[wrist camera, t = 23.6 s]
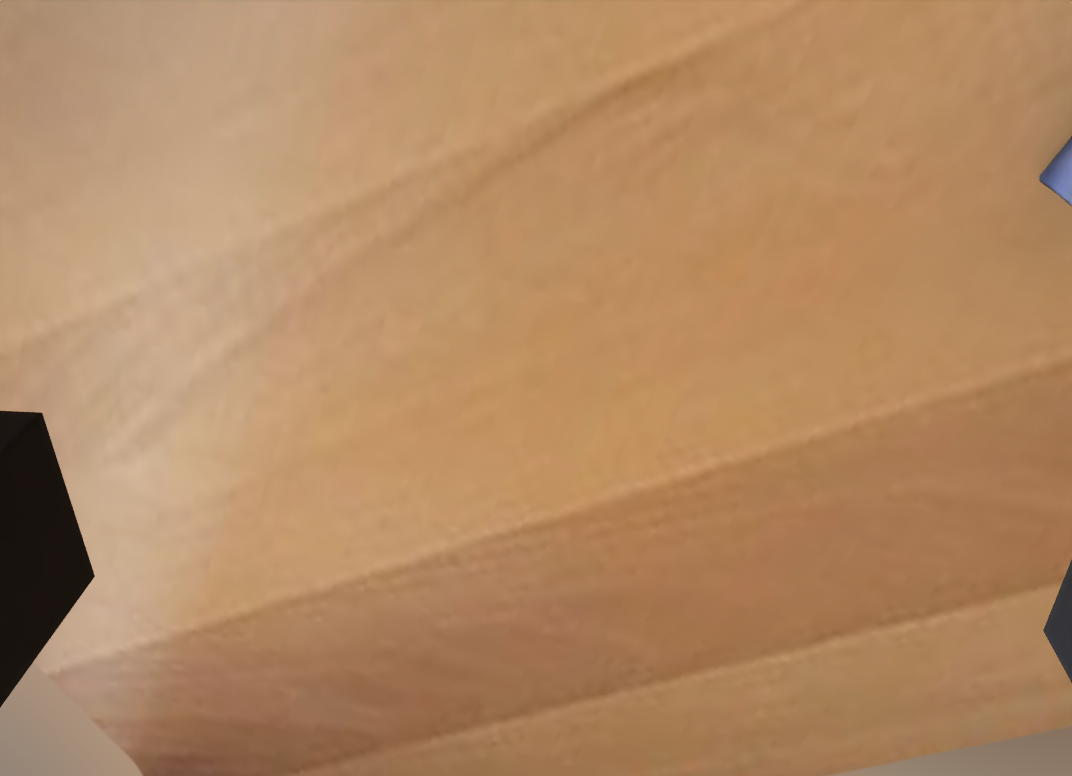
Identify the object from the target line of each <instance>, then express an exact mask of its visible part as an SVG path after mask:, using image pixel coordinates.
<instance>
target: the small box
mask: <svg viewBox="0 0 1072 776" xmlns="http://www.w3.org/2000/svg"><path fill="white" fill-rule="evenodd" d="M1039 180H1040V182H1041V183H1043V184H1044V185H1045V186H1047V187H1048V188H1050V189H1051V190H1053V191H1054V192H1055V193H1056V194H1057V195H1059V196H1060V197H1061V198H1062V199H1064V200H1065V201H1066V202H1067V203H1068V204H1070V205H1071V206H1072V137H1071V138H1070V139H1069V141H1068V142H1067V143H1066V144H1065V146H1064V147H1063V148H1062V150H1061V151H1060V152H1059V153H1058V154H1057V155H1056V157H1055V158H1054V159H1053V160H1052V162H1051V163H1050V164H1049V166H1048V167H1047V168H1046V169H1045V170H1044V172H1043V173H1042V174H1041V175H1040V177H1039Z"/></svg>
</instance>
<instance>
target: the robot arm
mask: <svg viewBox="0 0 1072 776" xmlns="http://www.w3.org/2000/svg"><path fill="white" fill-rule="evenodd" d="M94 577H95V575H94V572H93V569H92V566H91V563H90V560H89V557H88V554H87V551H86V548H85V545H84V541H83V538H82V535H81V532H80V529H79V526H78V523H77V520H76V517H75V514H74V510H73V507H72V504H71V501H70V498H69V495H68V492H67V489H66V486H65V483H64V479H63V476H62V473H61V470H60V467H59V464H58V461H57V458H56V455H55V452H54V449H53V445H52V442H51V439H50V436H49V433H48V430H47V427H46V424H45V421H44V418H43V414H42V413H35V412H13V411H0V707H1V706H2V704H3V703H4V701H5V700H6V699H7V697H8V696H9V695H10V693H11V692H12V690H13V689H14V688H15V686H16V685H17V683H18V682H19V681H20V679H21V678H22V677H23V675H24V674H25V672H26V671H27V669H28V668H29V667H30V665H31V664H32V663H33V661H34V660H35V658H36V657H37V656H38V654H39V653H40V652H41V650H42V649H43V647H44V646H45V645H46V643H47V642H48V640H49V639H50V638H51V636H52V635H53V633H54V632H55V631H56V629H57V628H58V627H59V625H60V624H61V622H62V621H63V620H64V618H65V617H66V615H67V614H68V613H69V611H70V610H71V608H72V607H73V606H74V604H75V603H76V602H77V600H78V599H79V597H80V596H81V595H82V593H83V592H84V590H85V589H86V588H87V586H88V585H89V584H90V582H91V581H92V579H93V578H94ZM1043 631H1044V633H1045V635H1046V636H1047V638H1048V640H1049V642H1050V644H1051V646H1052V647H1053V649H1054V651H1055V653H1056V655H1057V656H1058V658H1059V660H1060V662H1061V664H1062V666H1063V667H1064V669H1065V671H1066V673H1067V675H1068V677H1069V678H1070V680H1071V682H1072V560H1071V563H1070V565H1069V568H1068V570H1067V573H1066V575H1065V578H1064V580H1063V583H1062V585H1061V588H1060V590H1059V593H1058V595H1057V598H1056V600H1055V603H1054V605H1053V608H1052V610H1051V613H1050V615H1049V618H1048V620H1047V623H1046V625H1045V628H1044V630H1043Z"/></svg>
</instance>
